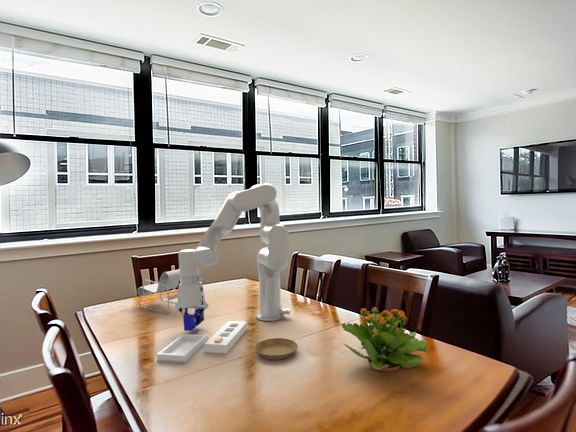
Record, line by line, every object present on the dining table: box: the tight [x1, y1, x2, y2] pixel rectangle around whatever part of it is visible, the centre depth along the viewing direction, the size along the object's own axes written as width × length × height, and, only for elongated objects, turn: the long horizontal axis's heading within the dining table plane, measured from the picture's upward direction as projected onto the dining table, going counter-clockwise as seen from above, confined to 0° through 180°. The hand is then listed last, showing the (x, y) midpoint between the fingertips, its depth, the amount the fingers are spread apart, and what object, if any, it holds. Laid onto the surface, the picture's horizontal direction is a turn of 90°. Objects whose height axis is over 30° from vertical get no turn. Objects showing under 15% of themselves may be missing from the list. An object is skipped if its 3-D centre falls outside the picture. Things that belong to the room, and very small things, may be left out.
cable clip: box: [182, 305, 205, 332], centre depth 146 cm, size 12×4×6 cm, turn 169°
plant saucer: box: [254, 337, 298, 361], centre depth 124 cm, size 15×15×3 cm
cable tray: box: [156, 333, 208, 364], centre depth 127 cm, size 10×18×2 cm, turn 169°
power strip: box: [204, 320, 248, 354], centre depth 137 cm, size 8×24×4 cm, turn 169°
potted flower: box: [341, 306, 428, 373], centre depth 112 cm, size 25×24×18 cm
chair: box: [136, 268, 180, 314], centre depth 183 cm, size 13×25×20 cm, turn 57°
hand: (192, 323), depth 146 cm, fingers closed on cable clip, 4 cm apart
